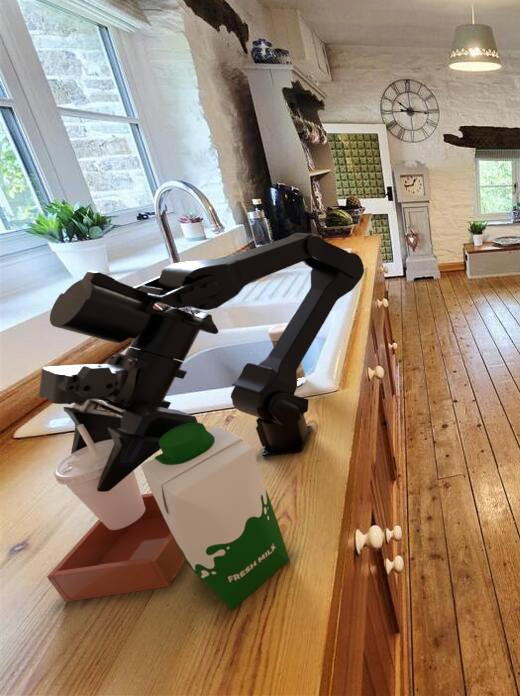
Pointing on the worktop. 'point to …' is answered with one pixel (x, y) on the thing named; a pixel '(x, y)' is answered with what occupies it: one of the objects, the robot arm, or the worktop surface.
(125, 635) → the worktop surface
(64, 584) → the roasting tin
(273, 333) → the sprinkles bottle
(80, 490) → the smoothie
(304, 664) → the worktop surface
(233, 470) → the milk carton
